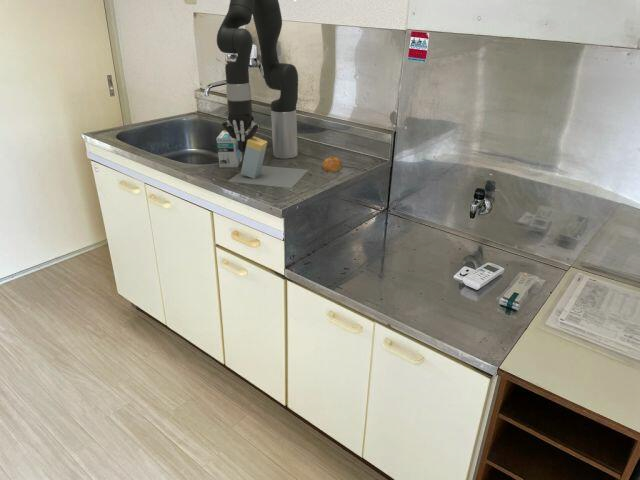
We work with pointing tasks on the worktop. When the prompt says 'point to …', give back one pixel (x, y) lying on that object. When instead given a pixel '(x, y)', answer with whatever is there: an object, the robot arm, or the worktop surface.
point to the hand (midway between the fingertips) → (243, 151)
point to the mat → (272, 177)
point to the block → (253, 157)
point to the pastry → (331, 165)
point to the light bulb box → (228, 150)
